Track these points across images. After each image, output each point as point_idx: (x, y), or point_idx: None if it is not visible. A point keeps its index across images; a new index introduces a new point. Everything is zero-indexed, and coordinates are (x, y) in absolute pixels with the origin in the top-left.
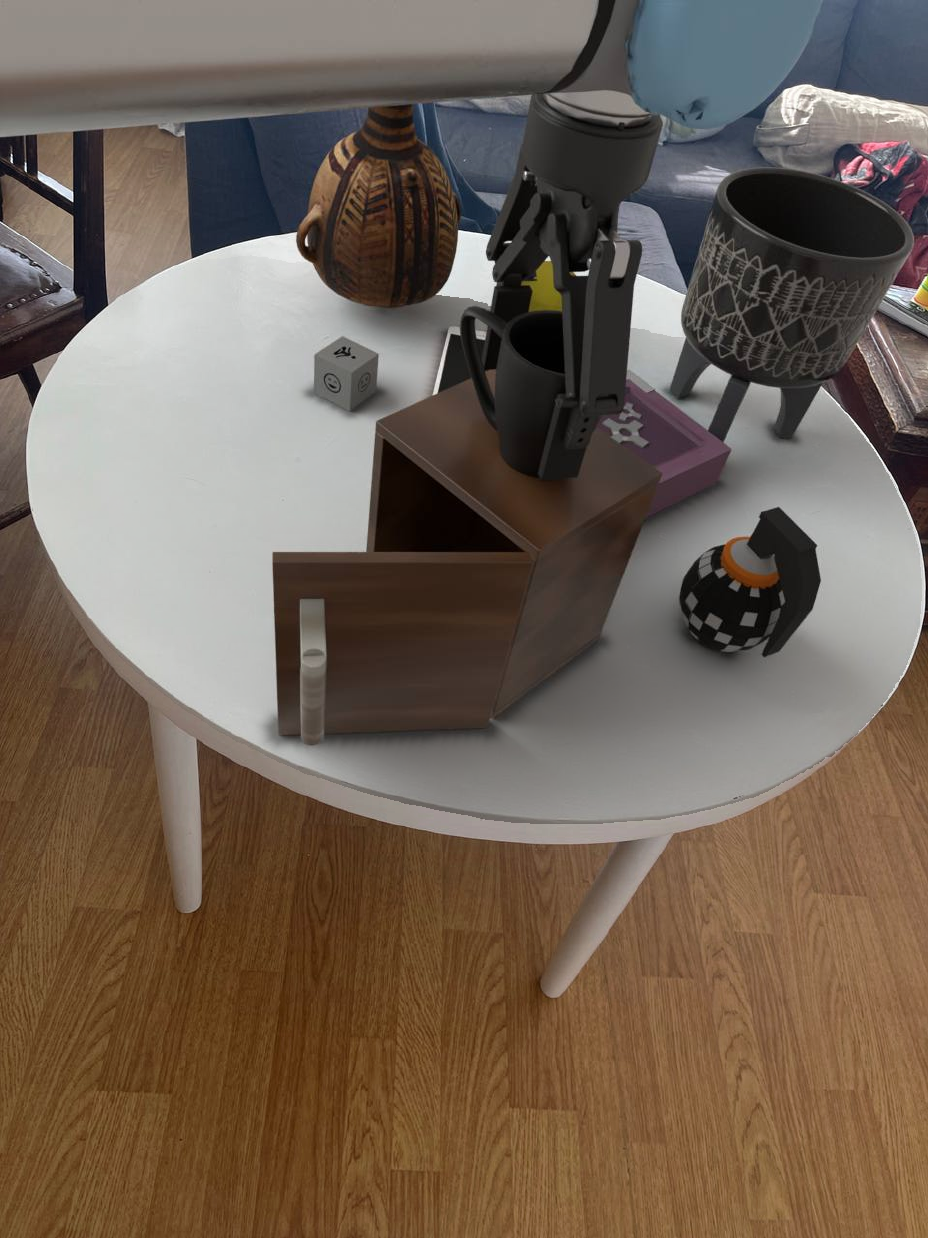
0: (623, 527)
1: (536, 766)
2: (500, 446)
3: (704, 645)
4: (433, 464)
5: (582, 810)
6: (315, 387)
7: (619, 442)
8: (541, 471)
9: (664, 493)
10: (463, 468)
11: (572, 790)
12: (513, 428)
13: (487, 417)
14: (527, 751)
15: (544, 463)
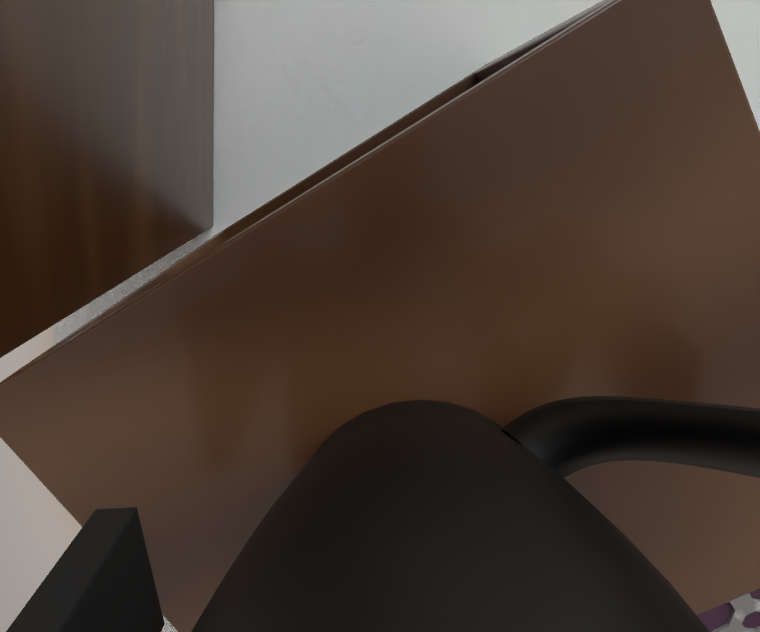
0: None
1: (129, 280)
2: (421, 409)
3: None
4: (390, 150)
5: (57, 323)
6: None
7: (731, 603)
8: (101, 527)
9: None
10: (362, 258)
11: (89, 319)
12: (296, 500)
13: (562, 404)
14: (154, 274)
15: (68, 561)
